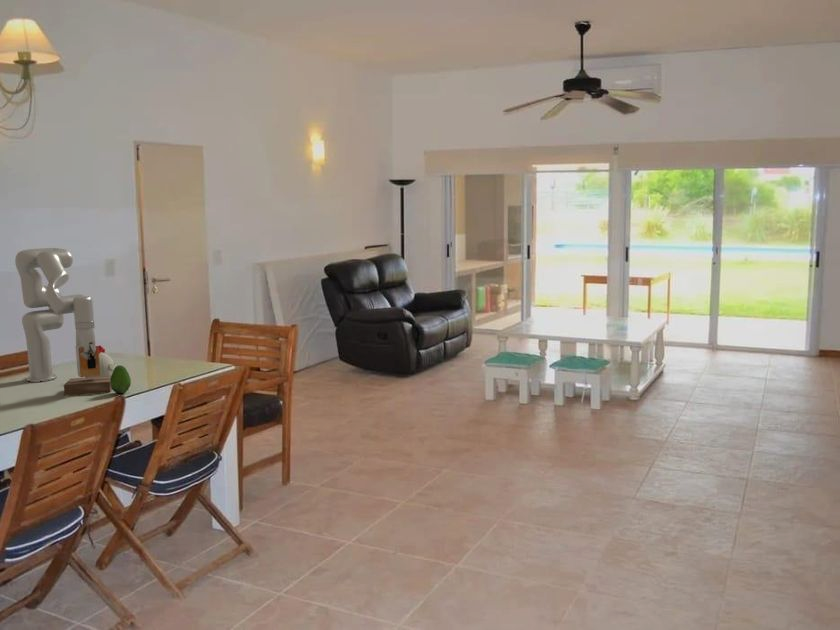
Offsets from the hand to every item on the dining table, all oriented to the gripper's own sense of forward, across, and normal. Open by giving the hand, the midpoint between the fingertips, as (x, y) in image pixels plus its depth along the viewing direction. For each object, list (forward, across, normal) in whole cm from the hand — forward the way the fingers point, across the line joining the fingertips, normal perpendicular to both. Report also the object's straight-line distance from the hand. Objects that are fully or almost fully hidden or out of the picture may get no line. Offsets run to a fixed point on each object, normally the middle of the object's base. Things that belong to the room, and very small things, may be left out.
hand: (88, 366), depth 338 cm
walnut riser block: (+11, 0, 0) cm, 11 cm away
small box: (+4, 0, 0) cm, 4 cm away
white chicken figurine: (+11, -22, +14) cm, 28 cm away
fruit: (+11, +15, +7) cm, 20 cm away
